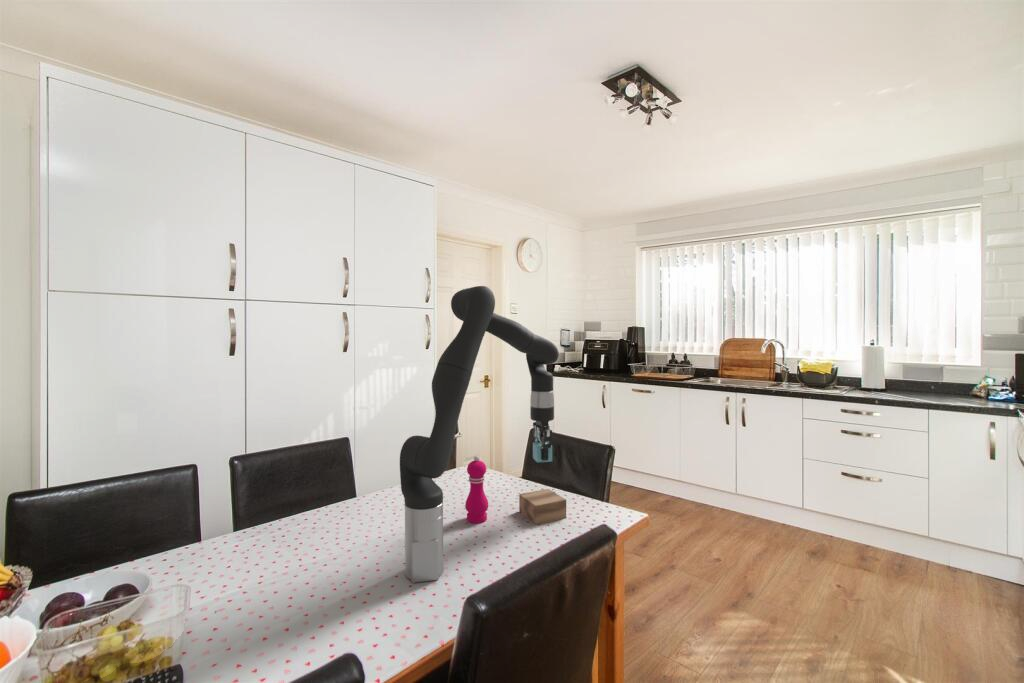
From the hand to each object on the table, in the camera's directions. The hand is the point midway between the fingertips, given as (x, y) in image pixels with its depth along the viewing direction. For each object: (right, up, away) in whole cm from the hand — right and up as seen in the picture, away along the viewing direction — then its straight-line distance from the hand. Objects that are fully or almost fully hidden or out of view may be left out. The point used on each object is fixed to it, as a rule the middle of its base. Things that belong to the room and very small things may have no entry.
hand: (542, 457), depth 147 cm
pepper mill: (-21, -19, -3) cm, 28 cm away
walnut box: (0, -19, +1) cm, 19 cm away
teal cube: (0, -1, 0) cm, 1 cm away
